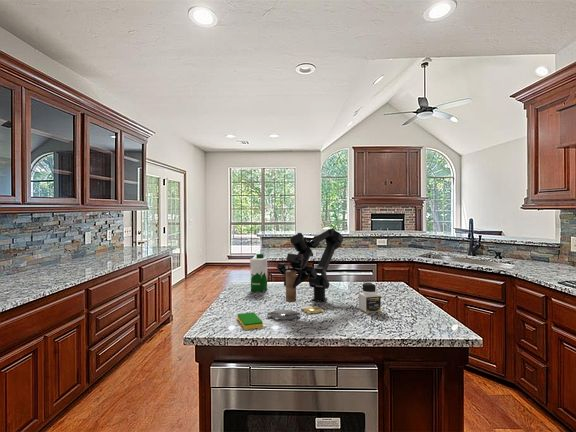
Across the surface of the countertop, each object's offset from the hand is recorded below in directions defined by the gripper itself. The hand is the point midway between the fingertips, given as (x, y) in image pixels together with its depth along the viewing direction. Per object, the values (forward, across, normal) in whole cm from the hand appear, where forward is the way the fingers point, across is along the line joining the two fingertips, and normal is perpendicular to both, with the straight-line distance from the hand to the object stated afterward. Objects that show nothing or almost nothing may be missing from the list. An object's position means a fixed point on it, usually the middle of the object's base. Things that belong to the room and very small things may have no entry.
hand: (289, 286), depth 144 cm
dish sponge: (+22, -6, -4) cm, 23 cm away
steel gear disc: (+11, 0, +5) cm, 12 cm away
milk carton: (-10, -38, +27) cm, 48 cm away
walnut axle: (+4, 0, +6) cm, 7 cm away
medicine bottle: (-8, +27, +25) cm, 38 cm away
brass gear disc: (+2, +7, +14) cm, 16 cm away
